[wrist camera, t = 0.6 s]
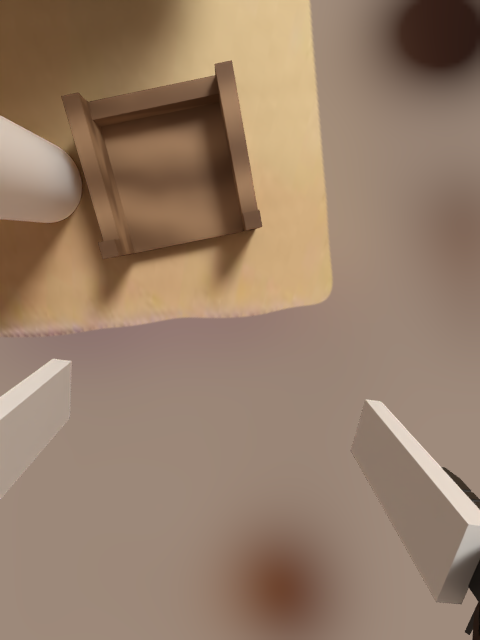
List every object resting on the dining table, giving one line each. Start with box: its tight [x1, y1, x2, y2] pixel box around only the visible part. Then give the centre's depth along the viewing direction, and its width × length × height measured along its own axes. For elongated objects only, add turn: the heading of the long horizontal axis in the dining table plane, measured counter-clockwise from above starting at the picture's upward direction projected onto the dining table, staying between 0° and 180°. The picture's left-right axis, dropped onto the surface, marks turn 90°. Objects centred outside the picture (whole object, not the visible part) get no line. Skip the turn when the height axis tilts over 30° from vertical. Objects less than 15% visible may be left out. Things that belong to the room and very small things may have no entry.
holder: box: [61, 61, 262, 259], centre depth 32 cm, size 14×15×7 cm
